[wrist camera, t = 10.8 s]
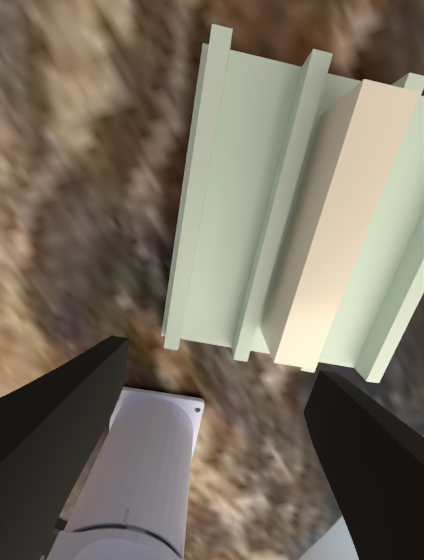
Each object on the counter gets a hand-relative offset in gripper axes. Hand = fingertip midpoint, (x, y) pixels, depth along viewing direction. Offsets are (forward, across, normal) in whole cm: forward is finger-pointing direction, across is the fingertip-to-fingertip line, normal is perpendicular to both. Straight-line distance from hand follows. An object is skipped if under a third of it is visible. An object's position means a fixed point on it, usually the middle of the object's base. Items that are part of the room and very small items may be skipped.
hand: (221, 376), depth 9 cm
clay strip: (+8, -5, -5) cm, 11 cm away
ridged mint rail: (+9, -5, -5) cm, 12 cm away
